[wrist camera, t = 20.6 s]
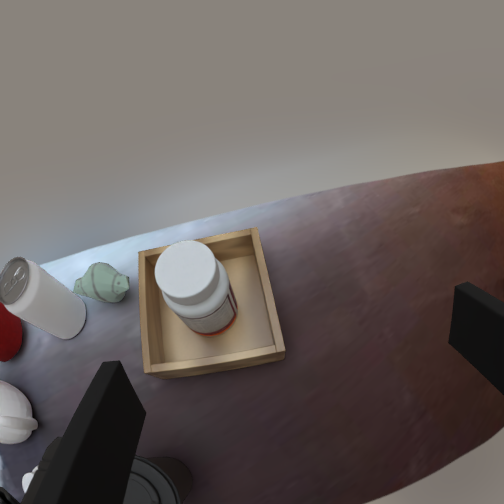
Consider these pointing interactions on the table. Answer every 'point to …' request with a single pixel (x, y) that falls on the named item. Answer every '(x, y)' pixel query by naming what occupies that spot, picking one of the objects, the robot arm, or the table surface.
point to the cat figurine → (15, 415)
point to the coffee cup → (158, 481)
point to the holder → (222, 346)
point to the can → (41, 299)
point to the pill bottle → (196, 288)
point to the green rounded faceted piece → (102, 283)
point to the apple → (9, 334)
